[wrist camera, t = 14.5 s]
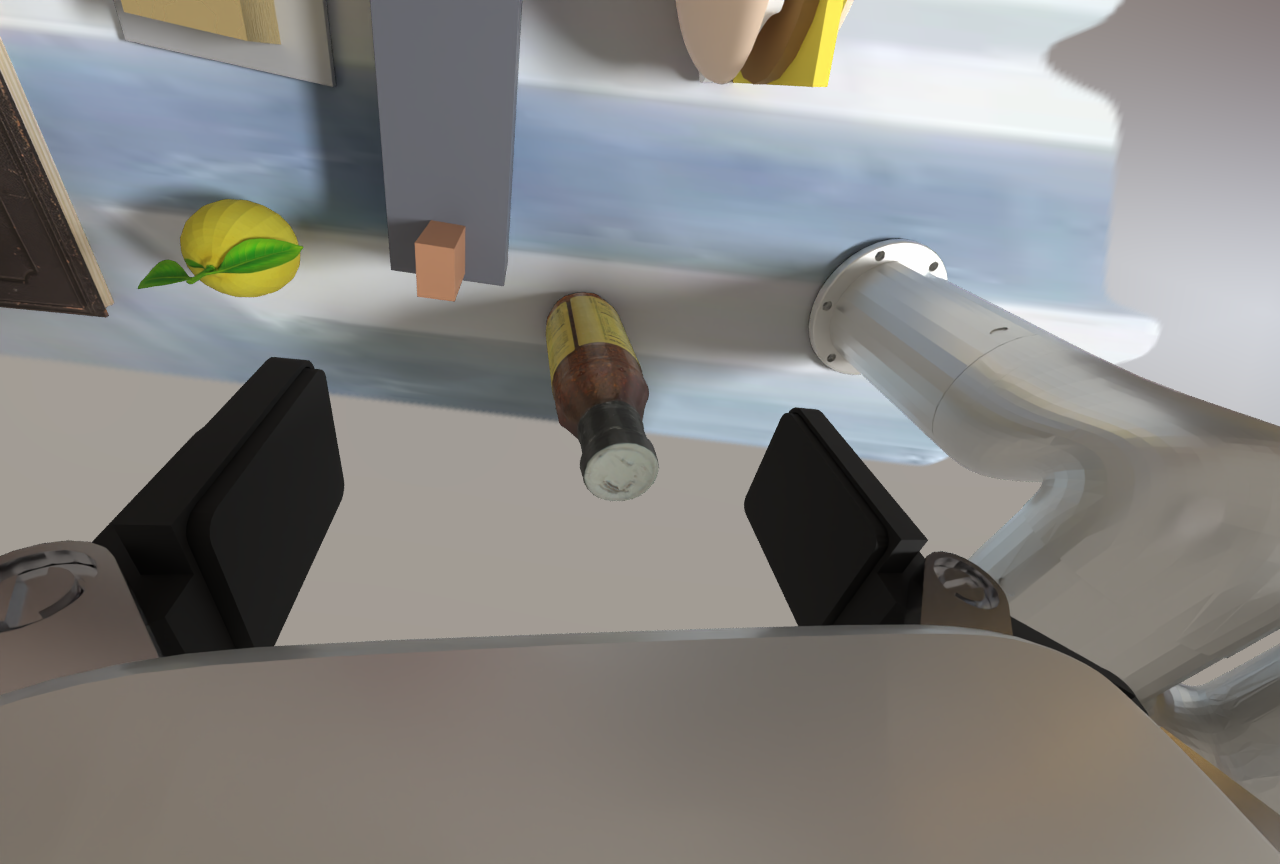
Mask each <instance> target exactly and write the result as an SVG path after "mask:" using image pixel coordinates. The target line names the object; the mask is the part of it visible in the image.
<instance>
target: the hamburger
mask: <svg viewBox="0 0 1280 864" xmlns="http://www.w3.org/2000/svg"><path fill="white" fill-rule="evenodd" d="M853 1H854V0H676V8H677V13H678V19H679V24H680V28H681V32H682V36H683V40H684V43H685V46H686V48H687V50H688V53H689V55H690V57H691V59H692V61H693V63H694V65H695V66H696V68H697V69H698V70H699V80H700V82H701V83H713V82H715V83H718V84H725V83H729V82H730V81H731V80H732V79H733V83H751V84H769V85H788V86H807V87H827V86H828V80H829V75H830V70H831V65H832V59H833V54H834V49H835V43H836V38H837V33H838V31H839V29H840V27H841V25H842V23H843V21H844V19H845V17H846V15H847V13H848V12H849V10H850V7H851V5H852V3H853Z"/></svg>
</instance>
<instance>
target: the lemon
mask: <svg viewBox="0 0 1280 864" xmlns="http://www.w3.org/2000/svg"><path fill="white" fill-rule="evenodd" d="M180 243H181V252H182V255H183V258H184V260H185V262H186V264H187V266H188V268H189V269H190V270H191V272H192V273H193V274H194V275H195V276H194V277H189V276H188V275H187V273H186V272H185V271H184V269H183V268H182V267H181V266H180V265H179V264H178V263H176V262H175V261H172V260H164V261H161V262H159V263H158V264H157V265H156V266H155V267H154V268H153V269H152V270H151V271H150V272H149V274H148V275H147V276H146V277H145V278H144V279H143V280H142V281H141V283H140V284H139V286H138V289H141V288H148V287H154V286H162V285H168V284H173V283H177V282H182V281H186V280H187V281H186V282H187V283H188V284H193V283H195V282H197V281H198V280H200V281H202V282H203V283H204V284H206V285H207V286H209V287H211V288H213V289H215V290H217V291H219V292H221V293H224V294H228V295H231V296H235V297H259V296H262V295H266V294H269V293H272V292H276V291H278V290H279V289H281V288H282V287H283V286H285V285H286V284H287V283H288V282H290V281H291V280H292V279H293V278H294V276H295V274H296V272H297V270H298V268H299V265H300V252H301V250H302V249H303V247H302V246H299V244H298V241H297V238H296V235H295V234H294V232H293V230H292V228H291V227H290V225H289V224H288V223H287V222H286V221H285V220H284V219H283V218H282V217H281V216H280V215H279V214H277V213H275V212H274V211H272V210H270V209H269V208H267V207H265V206H263V205H260V204H257V203H254V202H251V201H247V200H234V199H224V200H220V201H217V202H213V203H210V204H207V205H205V206H203V207H201V208H200V209H199V210H198V211H197V212H196V213H194V214H193V215H192V216H191V217H190V218H189V219H188V220H187V221H186V223H185V226H184V228H183V231H182V234H181V237H180Z"/></svg>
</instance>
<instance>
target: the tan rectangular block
mask: <svg viewBox="0 0 1280 864" xmlns="http://www.w3.org/2000/svg"><path fill="white" fill-rule="evenodd" d="M121 3H122V7H123V10H124V12H126V13H130V14H134V15H139V16H143V17H147V18H151V19H156V20H160V21H164V22H168V23H173V24H177V25H181V26H185V27H190V28H194V29H198V30H202V31H207V32H211V33H215V34H220V35H224V36H228V37H232V38H237V39H241V40H245V41H252V42H261V43H270V44H280V45H281V41H280V35H279V29H278V23H277V17H276V10H275V4H274V0H121Z"/></svg>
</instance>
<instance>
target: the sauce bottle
mask: <svg viewBox="0 0 1280 864" xmlns="http://www.w3.org/2000/svg"><path fill="white" fill-rule="evenodd" d="M546 325H547V326H546V342H547V350H548V359H549V367H550V376H551V385H552V393H553V397H554V400H555V405H556V410H557V415H558V419H559V423H560V425H561V426H563V427H564V428H566V429H567V430H568V431H569V432H571V433H572V434H573V435H574V436H575V437H576V438H577V439H578V440H579V442H580V444H581V449H582V457H581V460H580V469H581V472H582V476H583V480H584V483H585V485H586V487H587V489H588V490H589V491H590V492H591V493H592V494H593V495H595V496H596V497H598V498H601V499H605V500H610V501H625V500H629V499H633V498H636V497H638V496H640V495H641V494H643V493H645V492H646V491H647V490H648V489H649V488H650V486H651V485H652V484H653V483H654V481H655V479H656V477H657V474H658V468H659V465H658V459H657V456H656V453H655V450H654V447H653V445H652V443H651V442H650V441H649V439H647V437H646V435H645V432H644V427H643V422H642V420H643V414H644V409H645V405H646V402H647V400H648V397H649V389H648V386H647V384H646V382H645V380H644V377H643V374H642V370H641V367H640V364H639V362H638V360H637V358H636V355H635V353H634V351H633V348H632V346H631V344H630V341H629V339H628V337H627V335H626V332H625V330H624V327H623V325H622V323H621V320H620V318H619V316H618V314H617V312H616V311H615V310H614V308H613V307H612V306H611V305H609V304H608V303H607V302H606V301H605V300H604V299H602V298H601V297H599V296H598V295H596V294H594V293H585V292H582V293H574V294H571V295H568V296H564V297H563V298H562V299H560V300H559V301H558V302H557V303H556V304H555V305H554V307H553V309H552V310H551V312H550V313H549V316H548V318H547V324H546Z"/></svg>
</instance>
